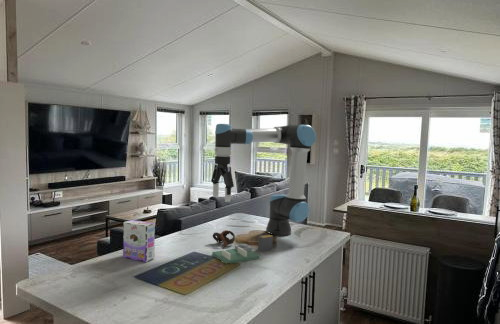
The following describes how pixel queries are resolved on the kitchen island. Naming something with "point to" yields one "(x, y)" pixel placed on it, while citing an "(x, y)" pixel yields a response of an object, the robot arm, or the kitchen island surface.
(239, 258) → the header board
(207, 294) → the kitchen island surface
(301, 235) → the kitchen island surface
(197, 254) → the kitchen island surface
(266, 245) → the plug
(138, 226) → the candy box
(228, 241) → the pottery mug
